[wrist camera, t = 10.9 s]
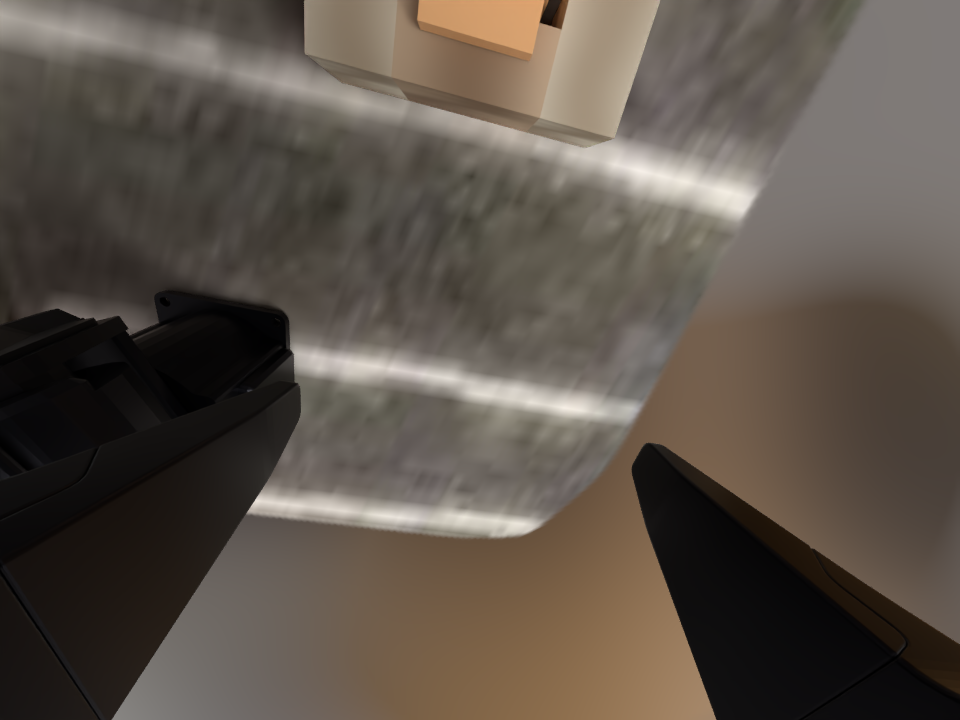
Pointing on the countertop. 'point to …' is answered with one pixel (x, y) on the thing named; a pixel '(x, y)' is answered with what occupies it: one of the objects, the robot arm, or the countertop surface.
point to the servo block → (485, 23)
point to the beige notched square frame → (491, 64)
